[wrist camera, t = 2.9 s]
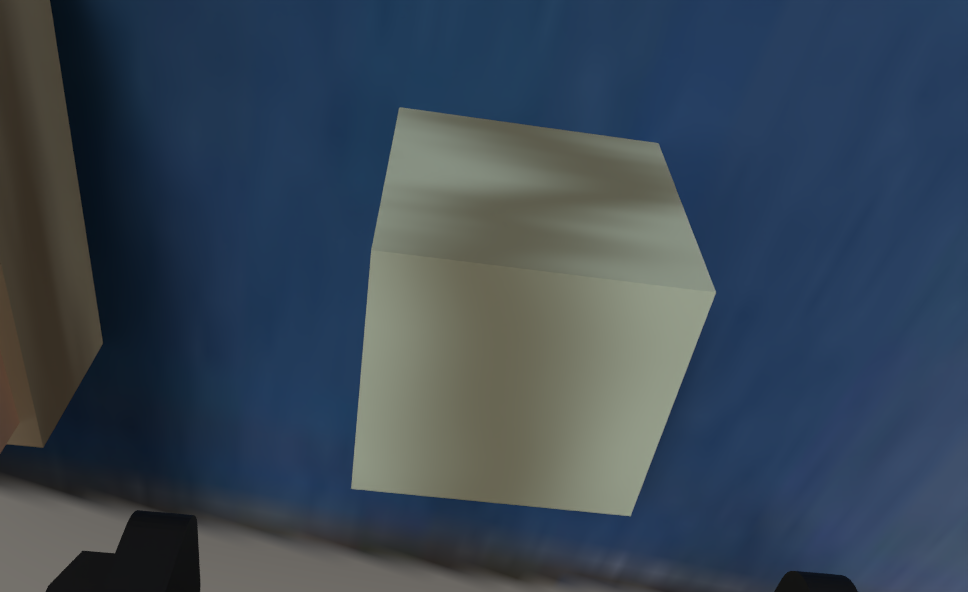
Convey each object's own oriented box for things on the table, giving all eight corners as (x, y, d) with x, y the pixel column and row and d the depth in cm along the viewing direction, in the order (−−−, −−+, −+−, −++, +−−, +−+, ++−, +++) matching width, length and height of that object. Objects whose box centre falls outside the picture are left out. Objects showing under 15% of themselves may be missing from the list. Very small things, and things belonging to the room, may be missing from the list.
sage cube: (658, 141, 18) (716, 292, 13) (598, 340, 21) (630, 516, 17) (399, 106, 17) (371, 249, 13) (379, 315, 21) (351, 488, 16)
